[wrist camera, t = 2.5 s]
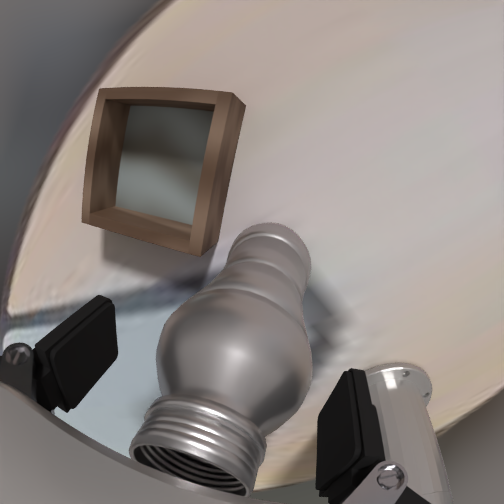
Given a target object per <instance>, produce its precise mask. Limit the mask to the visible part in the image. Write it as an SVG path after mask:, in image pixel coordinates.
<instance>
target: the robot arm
mask: <svg viewBox="0 0 504 504" xmlns="http://www.w3.org/2000/svg"><path fill="white" fill-rule="evenodd" d="M117 356H118V346H117V334H116V320H115V306H114V304H112V301H111V300H110V299H108V298H106V297H104V296H101V295H98V296H96V297H95V298H93V299H92V300H91V301H89V302H88V303H87V304H85V305H84V306H83V307H81V308H80V309H79V310H78V311H76V312H75V313H74V314H72V315H71V316H70V317H69V318H67V319H66V320H65V321H63V322H62V323H61V324H60V325H58V326H57V327H56V328H55V329H53V330H52V331H51V332H50V333H48V334H47V335H46V336H45V337H44V338H42V339H41V340H40V341H39V342H38V343H36V344H35V348H34V349H33V350H32V348H31V347H30V346H29V345H27V344H25V343H14V344H11V345H9V346H8V347H7V348H6V349H5V350H4V352H3V354H2V356H0V504H285V503H278V502H271V501H265V500H260V499H254V498H249V497H244V496H239V495H235V494H231V493H227V492H223V491H219V490H215V489H211V488H208V487H204V486H201V485H198V484H195V483H191V482H188V481H185V480H182V479H179V478H177V477H174V476H171V475H168V474H166V473H163V472H160V471H158V470H155V469H153V468H151V467H148V466H146V465H143V464H141V463H139V462H137V461H134V460H132V459H130V458H128V457H126V456H124V455H122V454H120V453H118V452H116V451H114V450H112V449H110V448H108V447H106V446H104V445H102V444H100V443H99V442H97V441H95V440H93V439H92V438H90V437H88V436H86V435H85V434H83V433H81V432H80V431H78V430H76V429H75V428H73V427H72V426H70V425H69V424H67V423H65V422H64V421H62V420H61V419H59V418H58V417H56V416H55V413H54V409H55V408H56V407H57V406H58V407H59V408H60V409H62V410H63V411H65V412H66V413H68V412H69V410H70V409H74V408H75V407H76V406H77V405H78V404H79V403H80V402H81V400H82V399H83V398H84V397H85V396H86V394H87V393H88V392H89V391H90V390H91V388H92V387H93V386H94V385H95V384H96V382H97V381H98V380H99V379H100V378H101V376H102V375H103V374H104V373H105V372H106V371H107V369H108V368H109V367H110V366H111V365H112V364H113V362H114V361H115V360H116V359H117ZM431 395H432V384H431V381H430V379H429V377H428V375H427V373H426V372H425V371H424V370H423V369H421V368H420V367H418V366H415V365H412V364H407V363H392V364H385V365H381V366H377V367H374V368H371V369H369V370H366V371H364V370H358V369H352V368H351V369H349V370H348V371H344V372H343V374H342V376H341V377H340V379H339V381H338V383H337V385H336V386H335V388H334V390H333V392H332V393H331V395H330V397H329V398H328V400H327V402H326V403H325V405H324V407H323V408H322V410H321V412H320V413H319V416H318V421H317V466H316V489H317V490H319V497H328V503H329V504H454V503H453V498H452V494H451V490H450V486H449V481H448V477H447V473H446V470H445V466H444V462H443V459H442V455H441V452H440V448H439V445H438V441H437V438H436V435H435V432H434V429H433V426H432V423H431V420H430V417H429V414H428V411H427V408H426V406H427V405H428V403H429V401H430V398H431Z"/></svg>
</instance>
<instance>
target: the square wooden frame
mask: <svg viewBox="0 0 504 504" xmlns="http://www.w3.org/2000/svg"><path fill="white" fill-rule="evenodd" d="M245 108H246V105H245V104H244V103H243V102H242V101H241V100H240V99H239V98H238V97H237V96H236V95H235V94H234V93H231V92H223V91H214V90H203V89H189V88H169V87H121V88H102V89H99V92H98V97H97V101H96V106H95V110H94V115H93V120H92V126H91V132H90V138H89V144H88V151H87V159H86V167H85V176H84V188H83V202H82V223H86V224H89V225H92V226H95V227H99V228H102V229H105V230H109V231H112V232H115V233H119V234H122V235H126V236H129V237H132V238H136V239H139V240H143V241H146V242H150V243H153V244H156V245H160V246H163V247H167V248H170V249H174V250H177V251H181V252H184V253H188V254H191V255H195V256H199V257H201V256H202V255H203V254H204V253H205V252H207V251H208V250H209V249H210V248H211V247H212V246H213V245H214V244H216V243H217V242H218V239H219V233H220V228H221V223H222V217H223V212H224V207H225V202H226V197H227V192H228V187H229V182H230V177H231V172H232V167H233V162H234V158H235V153H236V148H237V144H238V139H239V134H240V130H241V125H242V121H243V116H244V112H245Z"/></svg>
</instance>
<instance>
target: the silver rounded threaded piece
mask: <svg viewBox="0 0 504 504" xmlns="http://www.w3.org/2000/svg"><path fill="white" fill-rule="evenodd" d="M310 274H311V258H310V255H309V251H308V249H307V247H306V245H305V244H304V242H303V241H302V239H301V238H300V237H299V236H298V235H297V234H296V233H295V232H294V231H293V230H292V229H290V228H288V227H286V226H284V225H281V224H279V223H272V222H270V223H261V224H257V225H254V226H251V227H249V228H247V229H245V230H244V231H243V232H242V233H241V234H239V235H238V237H237V238H236V239H235V241H234V242H233V245H232V247H231V249H230V251H229V254H228V258H227V263H226V265H225V267H224V269H223V270H222V271H221V273H220V274H219V275H218V276H217V277H216V278H215V279H214V280H213V281H212V282H211V283H210V284H209V285H207V286H206V287H204V288H203V289H202V290H200V291H199V292H198V293H196V294H195V295H194V296H192V297H191V298H189V299H188V300H187V301H186V302H184V303H183V304H182V305H181V306H180V307H179V308H178V309H177V310H176V311H175V312H173V313H172V314H171V316H170V317H169V318H168V320H167V321H166V323H165V324H164V327H163V329H162V332H161V335H160V339H159V342H158V346H157V351H156V366H157V375H158V382H159V387H160V391H161V394H162V397H160V398H158V399H156V400H155V401H154V402H153V403H152V405H151V406H150V408H149V409H148V411H147V412H146V415H145V417H144V418H145V422H144V423H143V425H142V426H141V428H140V429H139V431H138V432H137V434H136V435H135V437H134V438H133V440H132V442H131V446H130V448H129V454H130V457H131V459H132V460H134V461H137V462H139V463H141V464H143V465H146V466H148V467H151V468H153V469H155V470H158V471H160V472H163V473H166V474H168V475H171V476H174V477H177V478H179V479H182V480H185V481H188V482H191V483H195V484H198V485H201V486H204V487H208V488H211V489H215V490H219V491H223V492H227V493H231V494H235V495H239V496H244V497H250V495H251V492H252V491H253V489H254V485H255V481H256V476H257V472H258V468H259V466H260V465H261V464H262V463H263V461H264V456H265V452H266V447H267V444H266V439H265V437H266V436H267V435H269V434H271V433H272V432H274V431H275V430H277V429H278V428H279V427H280V426H282V425H283V424H284V423H285V422H286V421H288V420H289V419H290V418H291V417H292V416H293V415H294V414H295V413H296V412H297V411H298V409H299V408H300V406H301V405H302V403H303V401H304V399H305V397H306V395H307V393H308V390H309V388H310V385H311V381H312V356H311V349H310V345H309V341H308V337H307V332H306V328H305V324H304V319H303V307H302V300H303V295H304V292H305V290H306V287H307V285H308V282H309V278H310Z"/></svg>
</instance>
